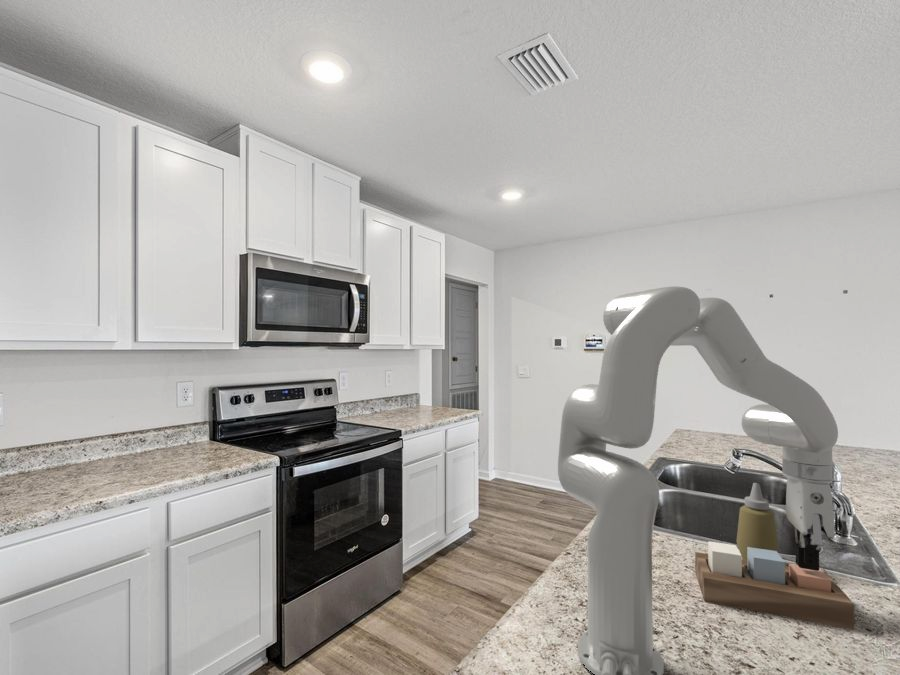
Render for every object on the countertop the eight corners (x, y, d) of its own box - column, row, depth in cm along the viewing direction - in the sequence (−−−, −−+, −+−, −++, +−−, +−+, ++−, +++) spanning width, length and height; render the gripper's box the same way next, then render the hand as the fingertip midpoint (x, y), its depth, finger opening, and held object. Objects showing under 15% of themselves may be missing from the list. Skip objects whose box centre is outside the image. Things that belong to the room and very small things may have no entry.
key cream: (741, 583, 86) (741, 555, 87) (712, 577, 88) (712, 551, 89) (736, 571, 91) (735, 545, 91) (708, 566, 93) (708, 541, 93)
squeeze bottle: (738, 551, 108) (737, 476, 108) (780, 561, 102) (779, 483, 103) (734, 563, 101) (733, 484, 102) (778, 574, 96) (776, 491, 97)
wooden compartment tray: (854, 629, 77) (853, 603, 77) (704, 601, 86) (703, 577, 86) (825, 594, 88) (825, 572, 88) (695, 572, 97) (695, 551, 97)
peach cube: (831, 609, 81) (830, 580, 81) (798, 603, 83) (797, 574, 83) (820, 595, 86) (819, 567, 86) (789, 590, 88) (788, 563, 88)
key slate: (785, 590, 84) (784, 562, 84) (754, 585, 86) (753, 557, 86) (776, 577, 89) (776, 551, 89) (747, 573, 90) (747, 546, 91)
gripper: (849, 483, 77) (850, 590, 76) (815, 464, 91) (816, 555, 90) (796, 477, 80) (797, 581, 79) (771, 460, 94) (771, 548, 93)
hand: (807, 567), depth 84 cm, fingers closed
